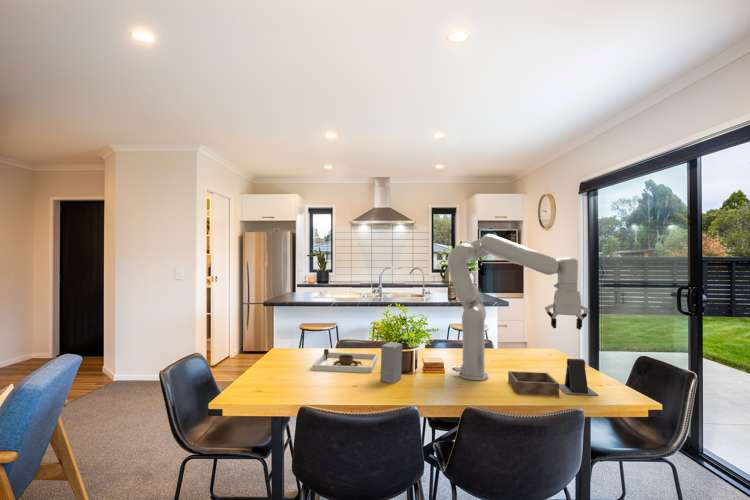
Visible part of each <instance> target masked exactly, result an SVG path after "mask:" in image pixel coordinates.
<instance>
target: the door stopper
mask: <svg viewBox="0 0 750 500" xmlns="http://www.w3.org/2000/svg"><path fill="white" fill-rule="evenodd" d="M565 372H566V373H565V379H564V384H565V386H566V387H567V388H568V389H569V390H570V391H571V392H578V393H588V387H589V386H588V379H587V373H586V372H587V371H586V361H585V359H583V358H567V359H566V371H565Z"/></svg>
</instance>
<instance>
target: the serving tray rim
mask: <svg viewBox="0 0 750 500" xmlns="http://www.w3.org/2000/svg"><path fill="white" fill-rule="evenodd" d="M341 355H352V356H353V359H357V360H358V359H359V360H361V359H362V360H363V359H364V360H372V361H371V363H370V365H369V366H362V365H360V366H358V365H357V366H352V365H349V366H342V365H339V366H337V365H338V364H336V365H334V364H331V365H330V364H323V362H325V361H326V359H325V357H326V355H324V353H323V354H322V355H321V356H320V357H319V358H318V359H317V360H316V361H314V363H313V364H312V371H317V372H340V373H342V372H343V373H361V374H364V373H366V374H367V373H368V374H370V373H371V374H372V373H373V370H374V369H375V366H376V364H377V362H378V359H379V354H377V353H360V352H359V353H356V352H334V351H333V352H330V351H329V353H328V355H327V358H331V359H333V358H334V359H339V356H341Z"/></svg>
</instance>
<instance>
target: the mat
mask: <svg viewBox="0 0 750 500" xmlns="http://www.w3.org/2000/svg"><path fill="white" fill-rule="evenodd" d="M559 390H560V391H561V392H562V393H563V394H565V395H566V394H567V395H569V396H587V397H588V396H590V397H592V396H593V397H599V394H598V393H597V392H595V391H594V390H593V389H592V388H590V387H589V386H588V393H578V392H571V391H570V390H569V389H568V388H567V387H566V386H565V383H559Z"/></svg>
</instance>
